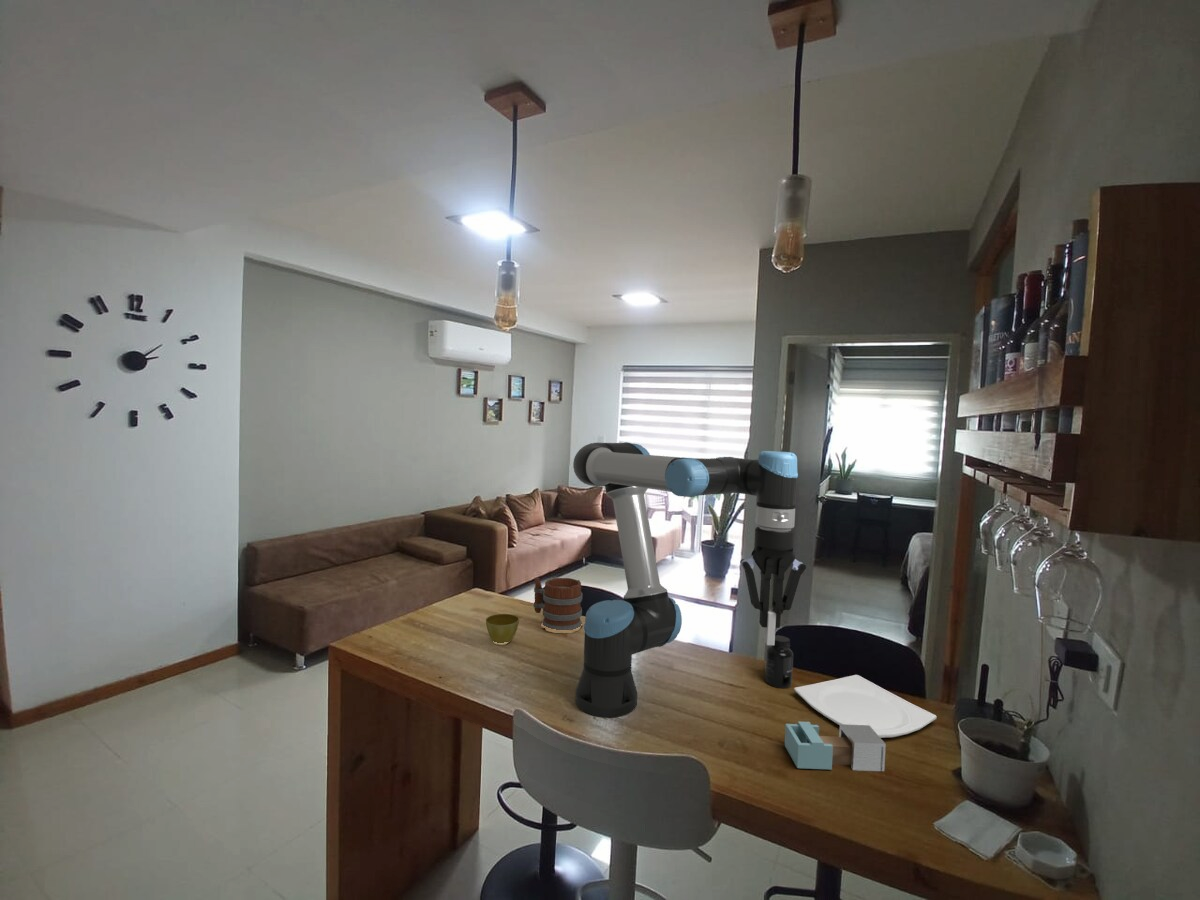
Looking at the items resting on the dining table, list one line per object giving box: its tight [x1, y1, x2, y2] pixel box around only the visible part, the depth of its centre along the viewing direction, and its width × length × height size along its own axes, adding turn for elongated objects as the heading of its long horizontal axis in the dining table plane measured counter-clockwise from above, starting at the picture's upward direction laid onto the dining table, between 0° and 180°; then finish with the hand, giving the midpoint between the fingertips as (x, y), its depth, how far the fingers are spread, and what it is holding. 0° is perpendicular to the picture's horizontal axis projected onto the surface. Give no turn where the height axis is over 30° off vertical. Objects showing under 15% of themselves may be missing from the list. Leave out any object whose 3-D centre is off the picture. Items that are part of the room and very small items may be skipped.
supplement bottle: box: [764, 634, 794, 689], centre depth 142 cm, size 7×7×12 cm
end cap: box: [838, 724, 887, 772], centre depth 109 cm, size 6×7×6 cm
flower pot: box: [485, 613, 520, 643], centre depth 163 cm, size 10×10×7 cm
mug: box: [533, 577, 583, 630], centre depth 178 cm, size 14×19×15 cm
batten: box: [807, 735, 852, 766], centre depth 109 cm, size 12×4×4 cm, turn 89°
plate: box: [793, 674, 938, 739], centre depth 129 cm, size 24×24×3 cm
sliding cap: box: [784, 721, 833, 770], centre depth 109 cm, size 7×8×5 cm
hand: (768, 642), depth 108 cm, fingers closed
